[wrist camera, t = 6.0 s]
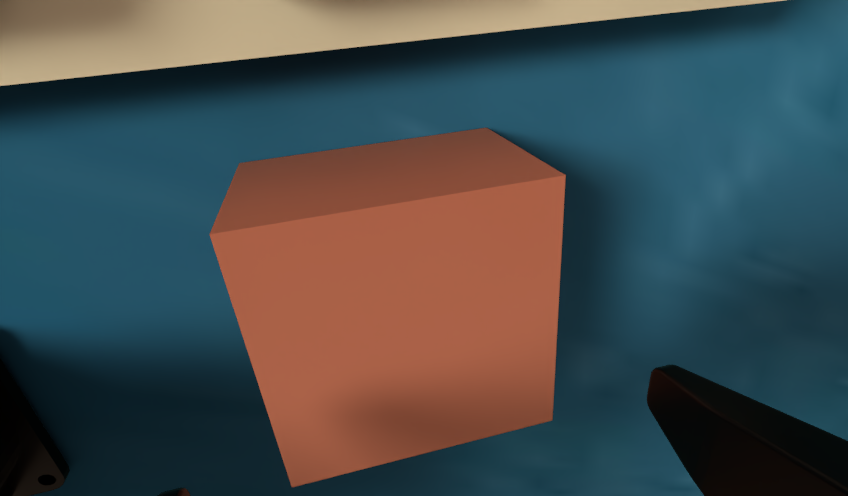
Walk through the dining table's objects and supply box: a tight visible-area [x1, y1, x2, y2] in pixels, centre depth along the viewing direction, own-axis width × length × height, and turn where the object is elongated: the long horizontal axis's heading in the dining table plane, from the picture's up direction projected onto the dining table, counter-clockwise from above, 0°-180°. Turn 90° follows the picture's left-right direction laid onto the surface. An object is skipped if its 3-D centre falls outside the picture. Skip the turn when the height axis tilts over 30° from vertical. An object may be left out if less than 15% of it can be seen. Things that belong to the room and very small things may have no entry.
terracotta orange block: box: [210, 128, 566, 487], centre depth 14 cm, size 7×7×5 cm
